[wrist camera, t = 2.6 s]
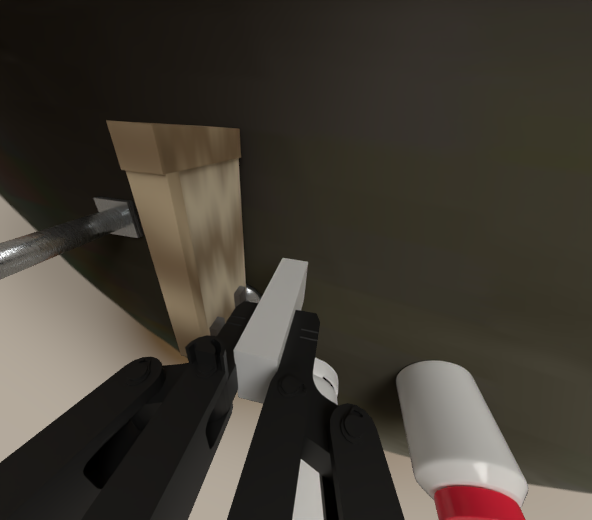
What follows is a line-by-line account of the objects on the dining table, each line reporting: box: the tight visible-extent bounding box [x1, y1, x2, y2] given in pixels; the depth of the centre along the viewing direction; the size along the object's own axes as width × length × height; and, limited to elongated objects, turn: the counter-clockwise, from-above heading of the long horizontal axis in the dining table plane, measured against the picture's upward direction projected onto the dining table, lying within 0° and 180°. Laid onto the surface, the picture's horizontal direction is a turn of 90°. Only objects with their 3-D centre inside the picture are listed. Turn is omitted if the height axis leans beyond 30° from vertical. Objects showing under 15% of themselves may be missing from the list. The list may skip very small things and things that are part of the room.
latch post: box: [0, 196, 143, 279], centre depth 17 cm, size 4×4×12 cm
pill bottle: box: [396, 360, 528, 520], centre depth 20 cm, size 8×8×11 cm
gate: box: [106, 121, 246, 357], centre depth 16 cm, size 15×2×8 cm, turn 176°
